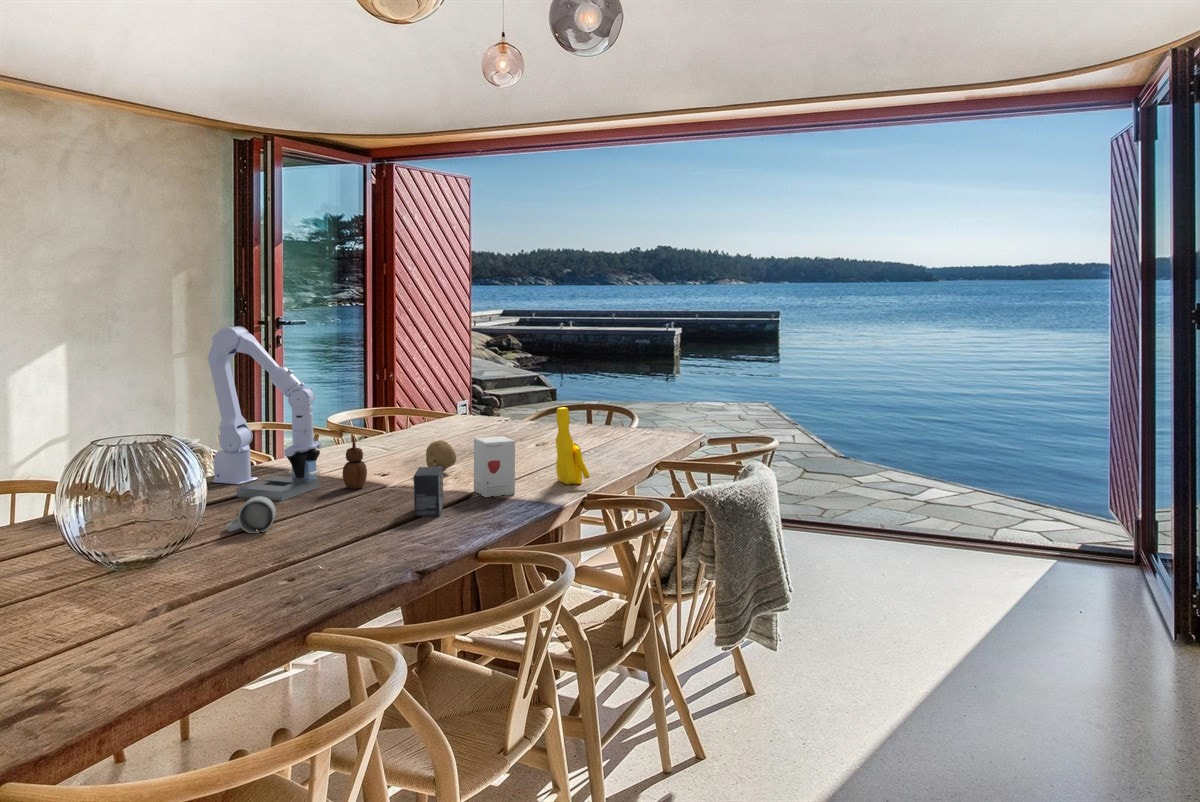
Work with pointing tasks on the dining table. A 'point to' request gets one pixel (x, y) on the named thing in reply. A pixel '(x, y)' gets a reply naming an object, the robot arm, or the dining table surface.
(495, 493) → the supplement box
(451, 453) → the natural sponge
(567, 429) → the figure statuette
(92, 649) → the dining table surface
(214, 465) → the robot arm
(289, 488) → the plate
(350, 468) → the wooden figurine
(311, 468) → the block
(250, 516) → the ceramic mug
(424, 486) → the small box
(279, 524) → the dining table surface
